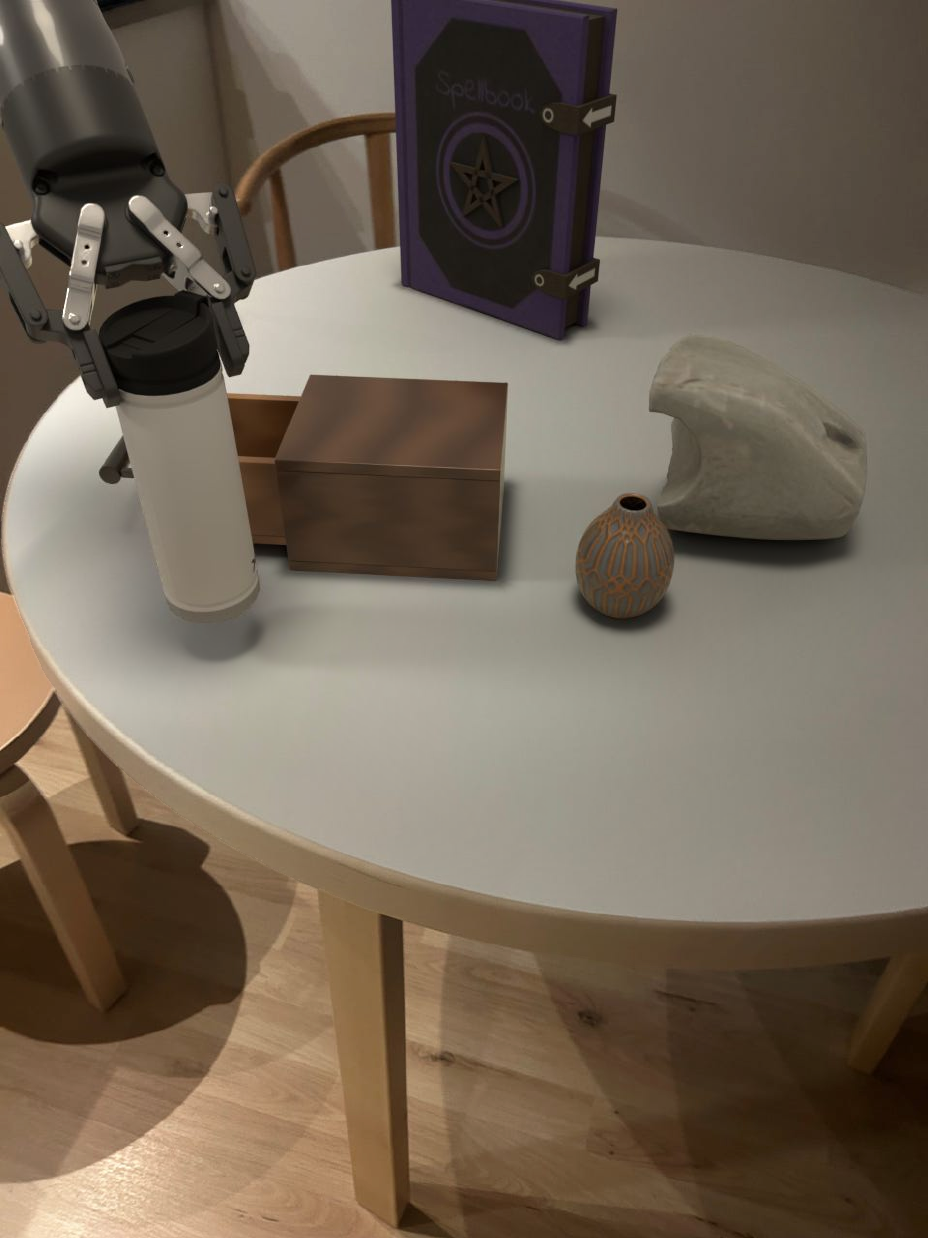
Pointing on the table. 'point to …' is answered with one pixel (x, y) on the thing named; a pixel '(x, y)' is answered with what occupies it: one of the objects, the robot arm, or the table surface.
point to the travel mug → (183, 453)
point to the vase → (625, 558)
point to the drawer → (243, 459)
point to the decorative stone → (754, 447)
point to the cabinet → (395, 477)
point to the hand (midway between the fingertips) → (176, 385)
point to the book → (502, 153)
